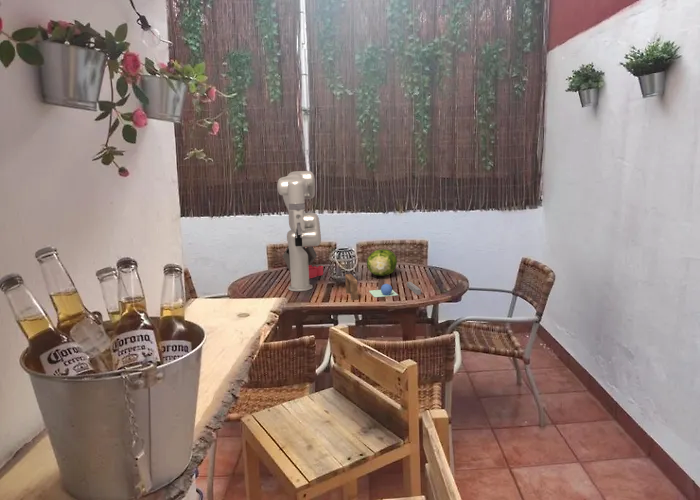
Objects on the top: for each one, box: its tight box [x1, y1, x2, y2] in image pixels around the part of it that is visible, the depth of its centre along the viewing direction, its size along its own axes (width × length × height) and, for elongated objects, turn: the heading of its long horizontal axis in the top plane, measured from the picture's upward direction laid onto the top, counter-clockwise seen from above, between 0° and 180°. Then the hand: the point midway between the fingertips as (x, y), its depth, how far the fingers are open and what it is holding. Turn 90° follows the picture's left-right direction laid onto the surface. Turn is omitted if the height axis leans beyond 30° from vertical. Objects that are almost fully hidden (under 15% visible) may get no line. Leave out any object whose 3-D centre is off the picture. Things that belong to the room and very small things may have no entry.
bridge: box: [344, 273, 359, 301], centre depth 259 cm, size 3×15×9 cm, turn 11°
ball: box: [380, 283, 393, 295], centre depth 259 cm, size 6×6×6 cm
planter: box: [282, 246, 318, 272], centre depth 319 cm, size 17×8×21 cm
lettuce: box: [366, 248, 398, 277], centre depth 295 cm, size 16×21×15 cm
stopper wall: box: [406, 281, 422, 296], centre depth 266 cm, size 16×2×2 cm, turn 11°
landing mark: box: [368, 289, 399, 298], centre depth 263 cm, size 12×12×1 cm
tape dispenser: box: [308, 264, 324, 279], centre depth 304 cm, size 14×10×5 cm
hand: (298, 245), depth 249 cm, fingers closed
